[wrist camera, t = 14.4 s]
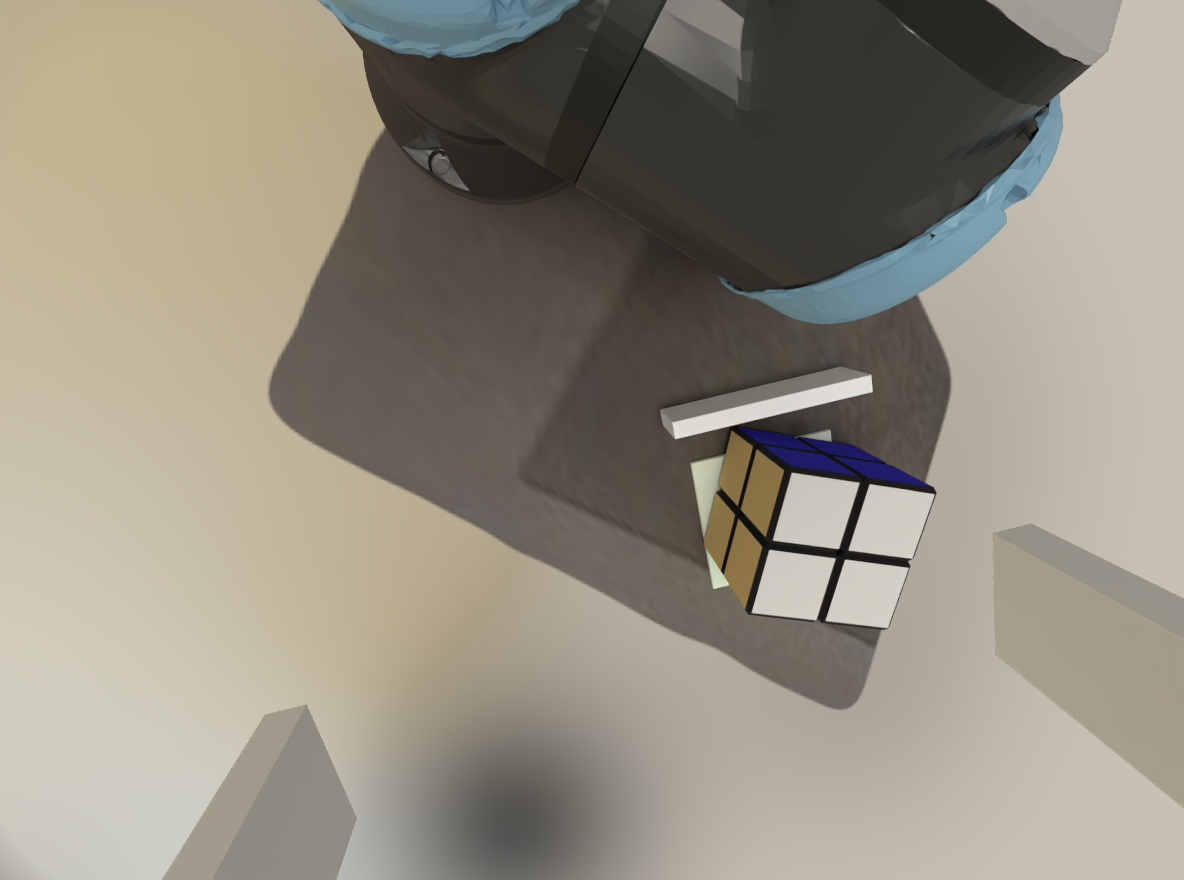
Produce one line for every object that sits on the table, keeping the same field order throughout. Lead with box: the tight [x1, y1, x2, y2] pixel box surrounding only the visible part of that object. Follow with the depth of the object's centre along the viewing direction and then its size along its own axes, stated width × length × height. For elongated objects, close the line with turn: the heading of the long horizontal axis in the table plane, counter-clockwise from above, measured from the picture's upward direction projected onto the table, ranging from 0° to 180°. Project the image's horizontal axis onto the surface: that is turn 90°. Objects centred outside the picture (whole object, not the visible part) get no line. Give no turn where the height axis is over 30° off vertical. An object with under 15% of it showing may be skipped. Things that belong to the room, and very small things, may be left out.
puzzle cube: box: [704, 427, 936, 630], centre depth 40 cm, size 10×10×10 cm
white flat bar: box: [660, 367, 873, 439], centre depth 41 cm, size 14×1×4 cm, turn 103°
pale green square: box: [690, 429, 832, 589], centre depth 45 cm, size 11×11×1 cm
